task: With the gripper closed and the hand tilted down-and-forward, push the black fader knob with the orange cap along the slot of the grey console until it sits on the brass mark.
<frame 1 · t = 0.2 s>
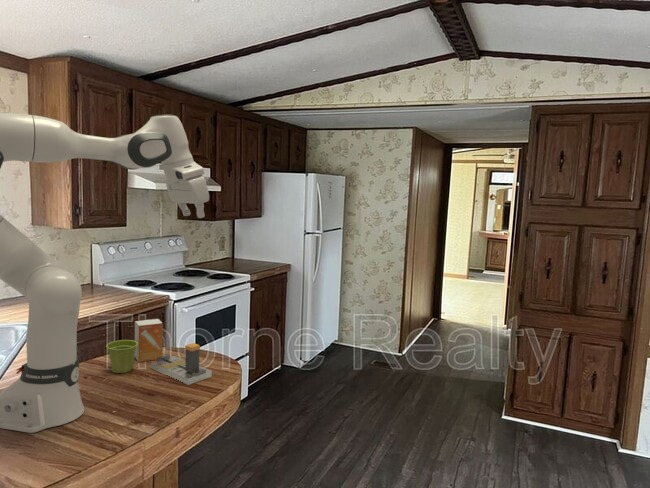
hand: (194, 216, 141), 51 cm above the counter, tool tilted 20°, fingers open, 8 cm apart
small box: (148, 358, 166), on the counter
plant pot: (122, 370, 154), on the counter
fader knob: (192, 357, 150), point 6 cm above the counter, slide at -6.0 cm
fader console: (180, 372, 154), on the counter
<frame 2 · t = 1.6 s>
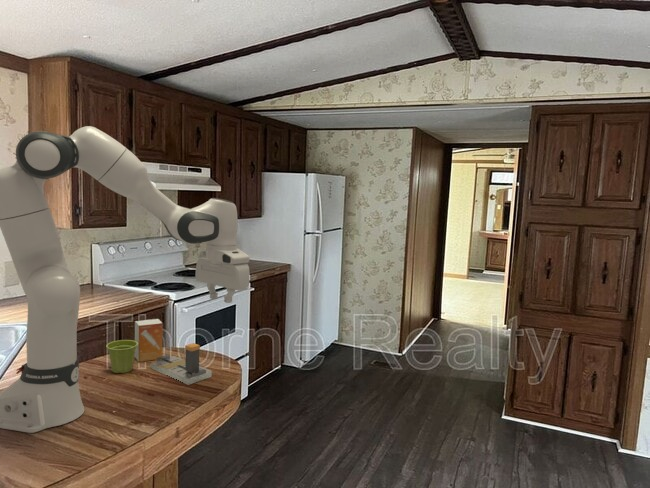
hand: (220, 300, 140), 27 cm above the counter, tool pointing down, fingers open, 5 cm apart
nothing on the counter moved.
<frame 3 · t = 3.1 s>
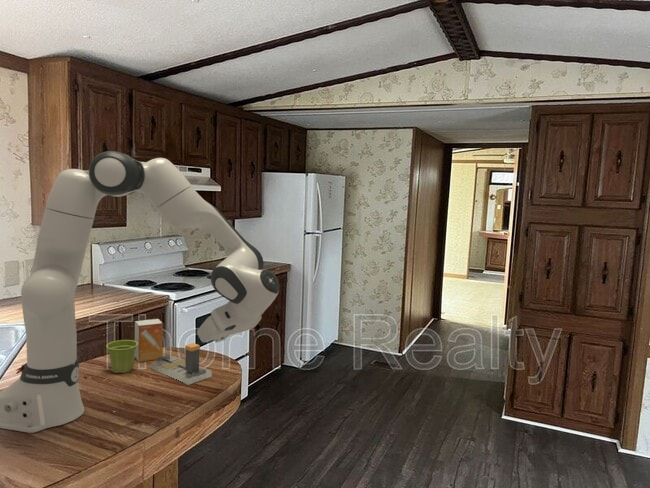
hand: (218, 339, 142), 15 cm above the counter, tool tilted 45°, fingers closed
nothing on the counter moved.
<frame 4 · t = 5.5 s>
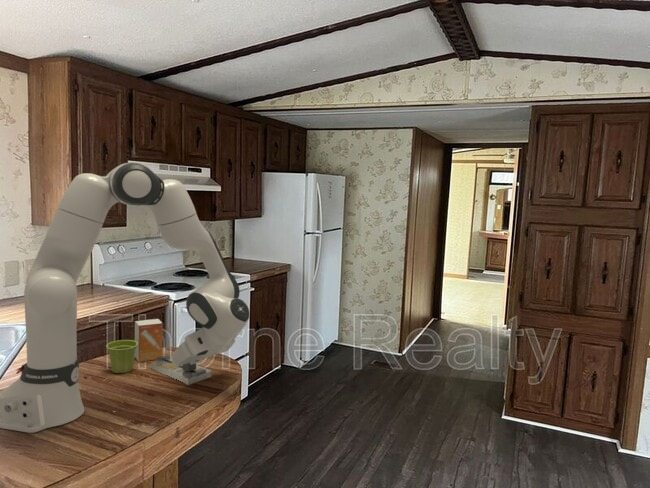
hand: (193, 361, 150), 5 cm above the counter, tool tilted 45°, fingers closed, pressing on fader knob
fader knob: (189, 356, 151), point 6 cm above the counter, slide at -4.5 cm, touching gripper
everything else where it was.
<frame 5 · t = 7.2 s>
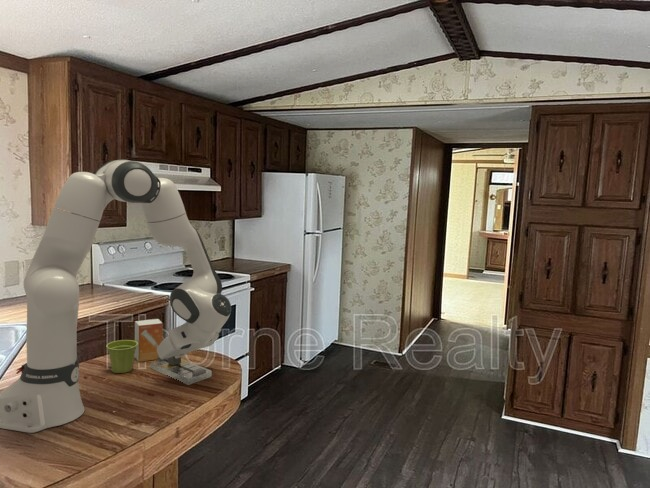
hand: (178, 355, 154), 5 cm above the counter, tool tilted 45°, fingers closed, pressing on fader knob
fader knob: (174, 351, 155), point 6 cm above the counter, slide at 3.4 cm, touching gripper
everything else where it was.
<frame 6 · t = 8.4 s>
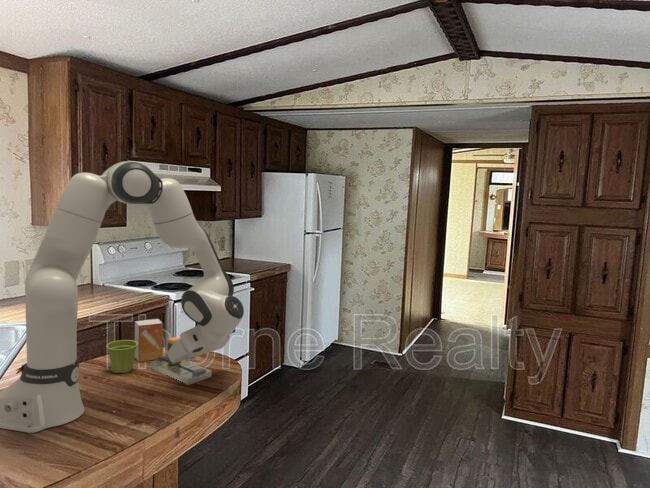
hand: (188, 358, 151), 6 cm above the counter, tool tilted 45°, fingers closed
fader knob: (174, 350, 156), point 6 cm above the counter, slide at 3.5 cm
everything else where it was.
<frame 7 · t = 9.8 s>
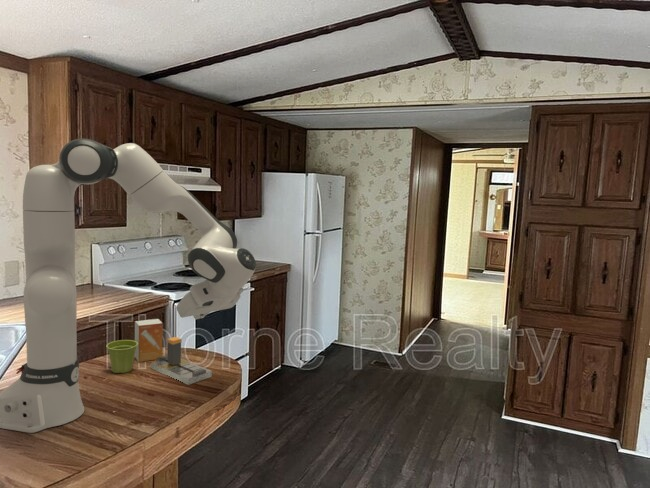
hand: (197, 316, 147), 20 cm above the counter, tool tilted 45°, fingers closed
nothing on the counter moved.
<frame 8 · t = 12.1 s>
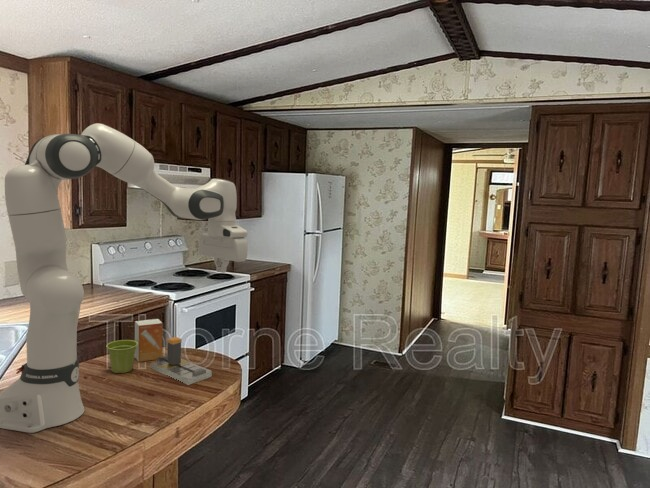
hand: (221, 272, 154), 33 cm above the counter, tool pointing down, fingers closed
nothing on the counter moved.
at the end: fader knob slide at 3.5 cm; fader knob touching nothing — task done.
